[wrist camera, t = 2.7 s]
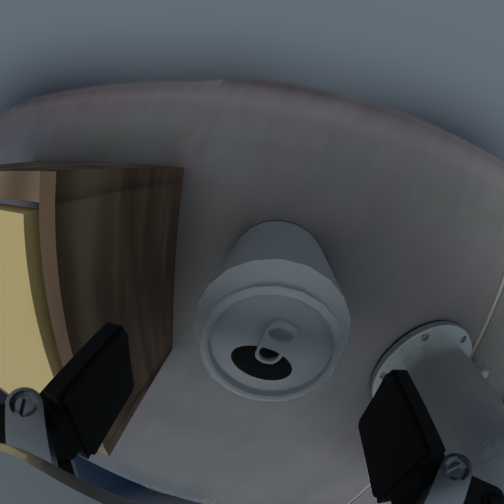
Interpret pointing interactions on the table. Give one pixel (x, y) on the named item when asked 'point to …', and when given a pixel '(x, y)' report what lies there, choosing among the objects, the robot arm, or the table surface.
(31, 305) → the trapdoor flap
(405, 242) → the table surface
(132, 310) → the trapdoor frame
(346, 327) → the can
